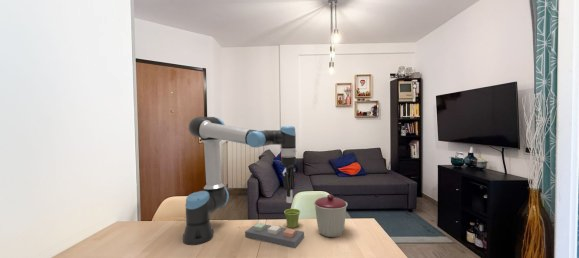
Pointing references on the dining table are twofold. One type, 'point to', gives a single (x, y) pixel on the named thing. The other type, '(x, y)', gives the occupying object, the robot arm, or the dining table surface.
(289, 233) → the terracotta key
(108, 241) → the dining table surface
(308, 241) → the dining table surface
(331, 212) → the canister
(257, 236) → the keypad
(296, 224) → the plant pot
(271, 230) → the cream key
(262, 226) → the sage key
